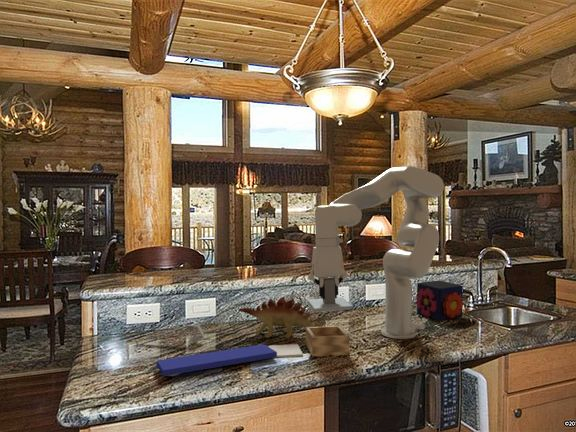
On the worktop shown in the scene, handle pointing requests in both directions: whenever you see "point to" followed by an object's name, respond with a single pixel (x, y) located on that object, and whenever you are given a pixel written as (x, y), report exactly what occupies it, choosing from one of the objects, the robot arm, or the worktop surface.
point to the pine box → (327, 341)
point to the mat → (287, 350)
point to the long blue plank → (214, 359)
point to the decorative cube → (439, 300)
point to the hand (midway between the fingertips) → (328, 297)
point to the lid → (329, 299)
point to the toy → (281, 316)
